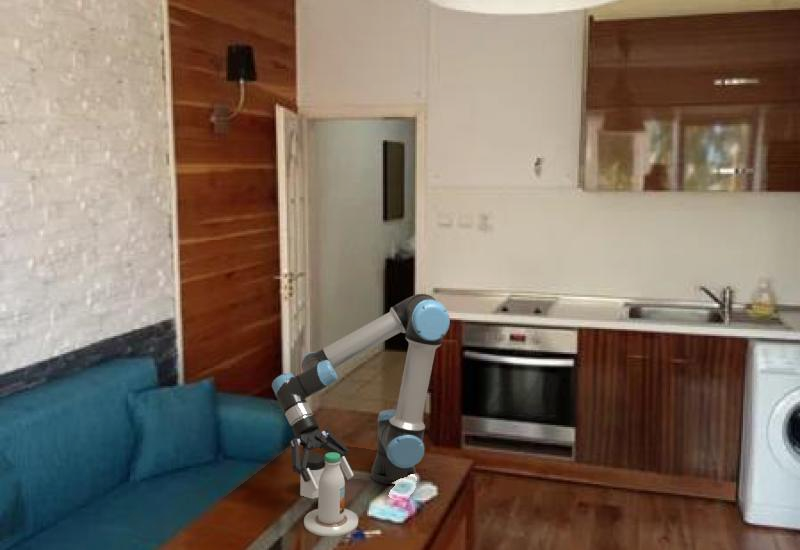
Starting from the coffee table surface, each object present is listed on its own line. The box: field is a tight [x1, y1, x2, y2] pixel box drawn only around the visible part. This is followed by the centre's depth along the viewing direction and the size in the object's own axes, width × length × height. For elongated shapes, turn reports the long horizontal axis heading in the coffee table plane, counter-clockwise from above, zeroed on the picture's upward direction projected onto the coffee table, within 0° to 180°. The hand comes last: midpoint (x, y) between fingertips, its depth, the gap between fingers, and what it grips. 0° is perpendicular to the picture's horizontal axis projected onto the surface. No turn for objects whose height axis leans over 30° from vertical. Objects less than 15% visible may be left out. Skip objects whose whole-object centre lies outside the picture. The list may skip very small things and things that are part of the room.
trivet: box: [303, 508, 359, 538], centre depth 227 cm, size 16×16×1 cm
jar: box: [299, 452, 325, 500], centre depth 246 cm, size 9×8×12 cm
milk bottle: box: [317, 452, 346, 524], centre depth 225 cm, size 8×8×20 cm
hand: (333, 484), depth 224 cm, fingers open, 13 cm apart
